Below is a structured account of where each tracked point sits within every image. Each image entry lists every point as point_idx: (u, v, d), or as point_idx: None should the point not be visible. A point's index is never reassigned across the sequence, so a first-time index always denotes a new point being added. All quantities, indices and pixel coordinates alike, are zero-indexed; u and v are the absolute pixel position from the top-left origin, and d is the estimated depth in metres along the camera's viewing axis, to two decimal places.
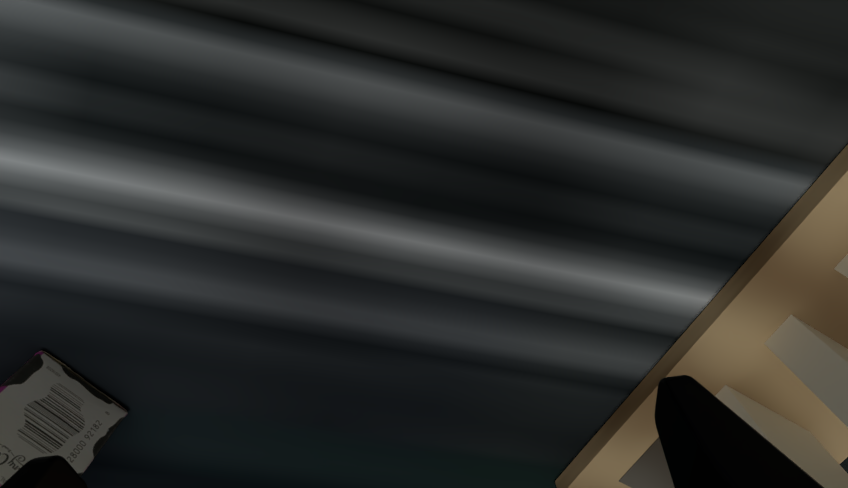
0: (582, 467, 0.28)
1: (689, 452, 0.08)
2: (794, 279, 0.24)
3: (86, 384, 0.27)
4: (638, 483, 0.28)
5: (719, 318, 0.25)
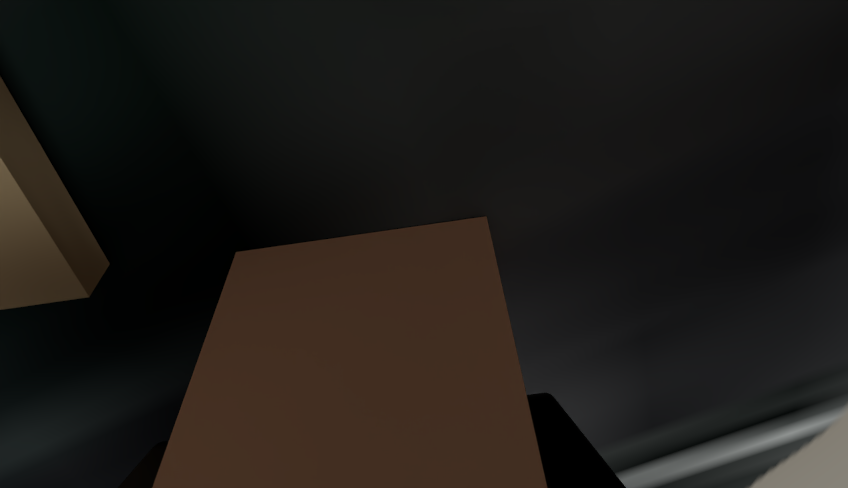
0: None
1: None
2: None
3: None
4: None
5: None
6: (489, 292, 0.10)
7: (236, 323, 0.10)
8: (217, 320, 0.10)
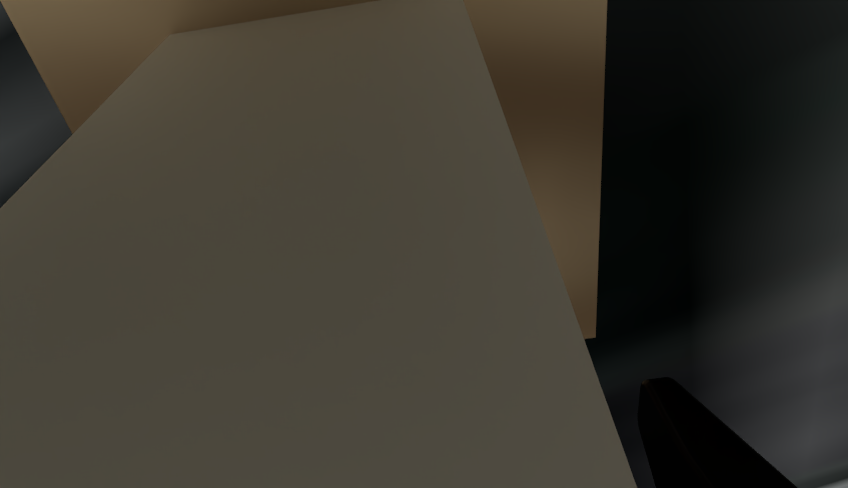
0: None
1: (669, 454, 0.08)
2: None
3: None
4: None
5: None
6: None
7: None
8: None
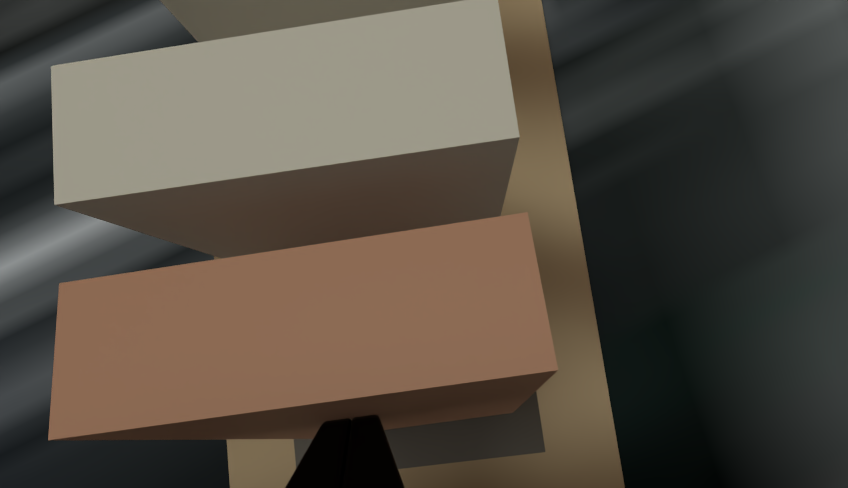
0: None
1: None
2: None
3: None
4: None
5: None
6: None
7: None
8: None
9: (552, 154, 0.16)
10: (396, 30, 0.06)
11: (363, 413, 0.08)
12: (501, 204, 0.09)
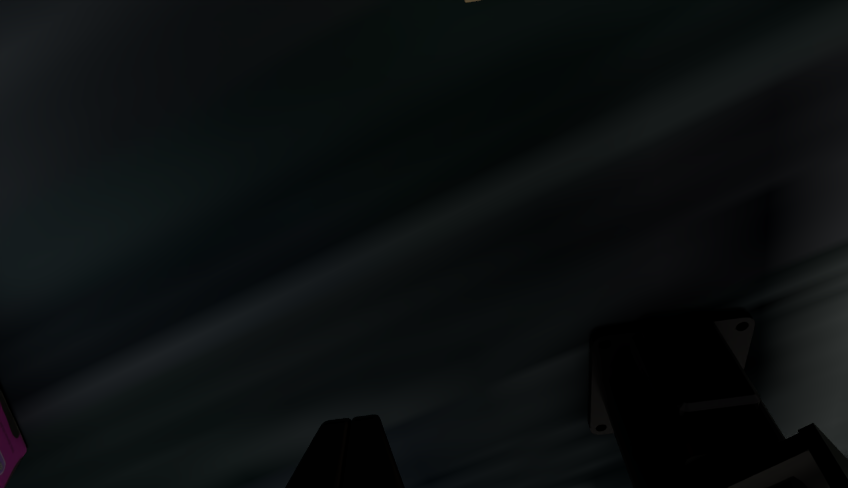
0: None
1: None
2: None
3: None
4: None
5: None
6: None
7: None
8: None
9: None
10: None
11: None
12: None
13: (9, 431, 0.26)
